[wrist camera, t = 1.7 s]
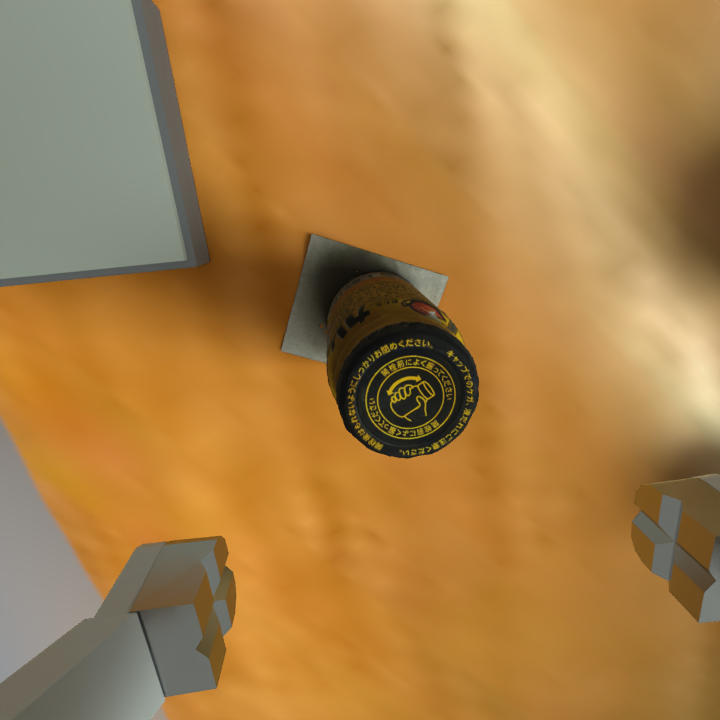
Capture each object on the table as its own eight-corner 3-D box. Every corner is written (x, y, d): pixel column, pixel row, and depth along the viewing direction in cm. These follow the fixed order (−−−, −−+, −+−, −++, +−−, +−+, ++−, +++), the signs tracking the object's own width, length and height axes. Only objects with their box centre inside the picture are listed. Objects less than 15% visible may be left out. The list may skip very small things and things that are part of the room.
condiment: (408, 384, 28) (462, 498, 17) (281, 349, 27) (245, 449, 15) (447, 276, 26) (540, 322, 15) (312, 233, 25) (297, 248, 13)
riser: (-75, 29, 20) (-140, -2, 18) (159, 10, 21) (132, -23, 18) (14, 281, 24) (-27, 290, 21) (210, 261, 25) (194, 267, 22)
